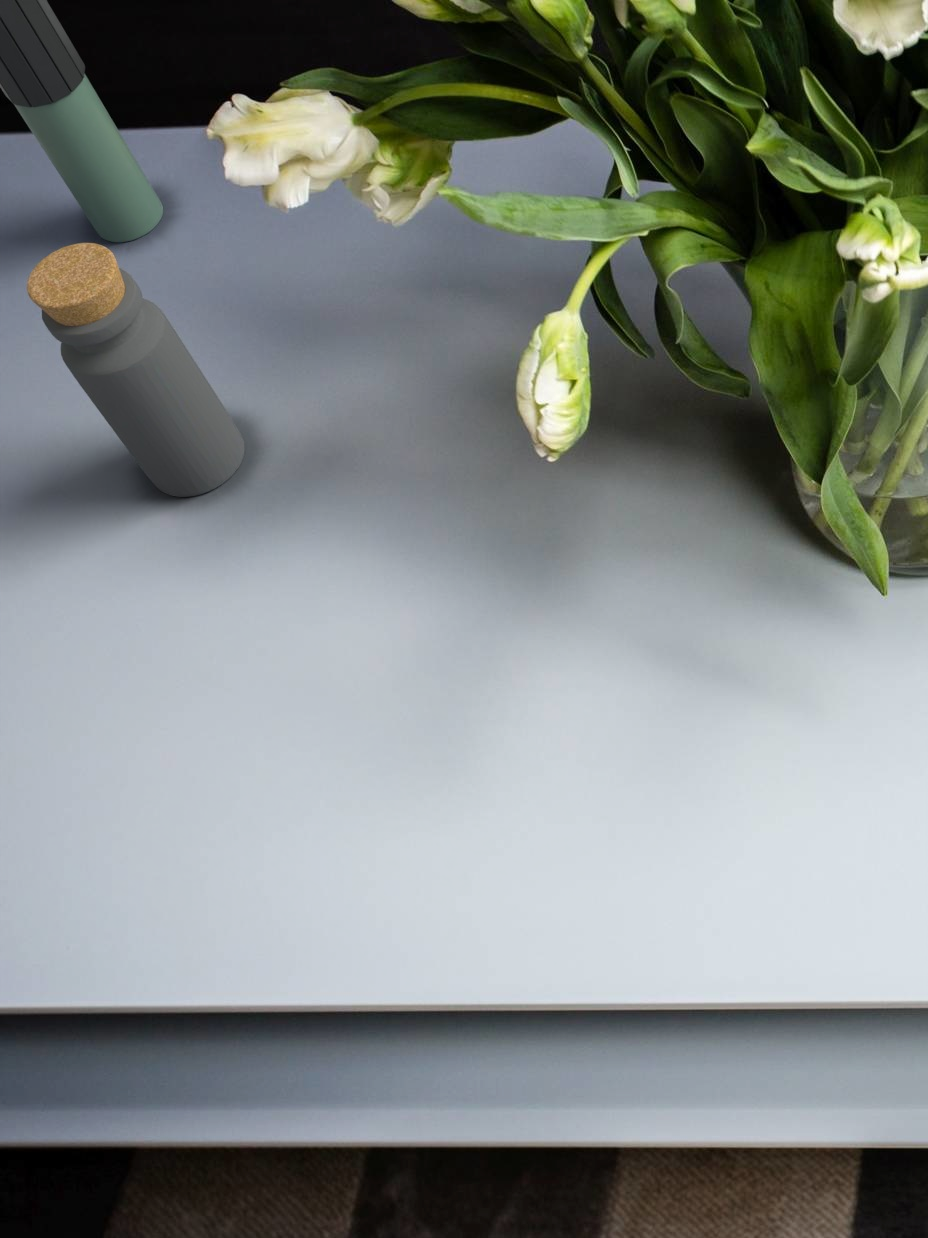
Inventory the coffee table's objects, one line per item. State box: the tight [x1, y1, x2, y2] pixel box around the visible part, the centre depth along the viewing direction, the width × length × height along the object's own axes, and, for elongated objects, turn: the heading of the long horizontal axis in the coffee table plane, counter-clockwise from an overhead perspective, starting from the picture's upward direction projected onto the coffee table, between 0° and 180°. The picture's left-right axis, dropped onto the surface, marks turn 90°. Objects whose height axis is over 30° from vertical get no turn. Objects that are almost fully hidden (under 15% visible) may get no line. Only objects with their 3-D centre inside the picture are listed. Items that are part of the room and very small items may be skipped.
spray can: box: [13, 72, 164, 243], centre depth 104 cm, size 5×5×13 cm
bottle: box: [26, 242, 246, 498], centre depth 91 cm, size 6×6×15 cm
